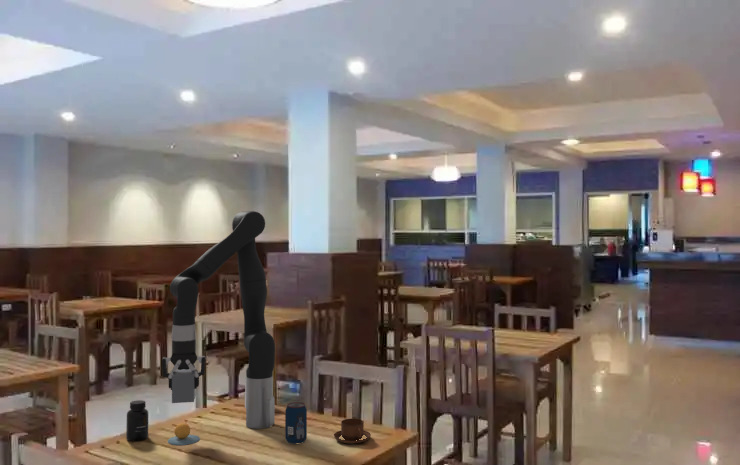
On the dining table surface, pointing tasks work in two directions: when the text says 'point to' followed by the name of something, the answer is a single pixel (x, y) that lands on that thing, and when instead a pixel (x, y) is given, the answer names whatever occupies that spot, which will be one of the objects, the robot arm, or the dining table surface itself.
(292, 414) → the soda can
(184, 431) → the ball
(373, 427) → the dining table surface
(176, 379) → the rectangular block
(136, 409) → the supplement bottle
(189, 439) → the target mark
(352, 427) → the rectangular block and saucer
